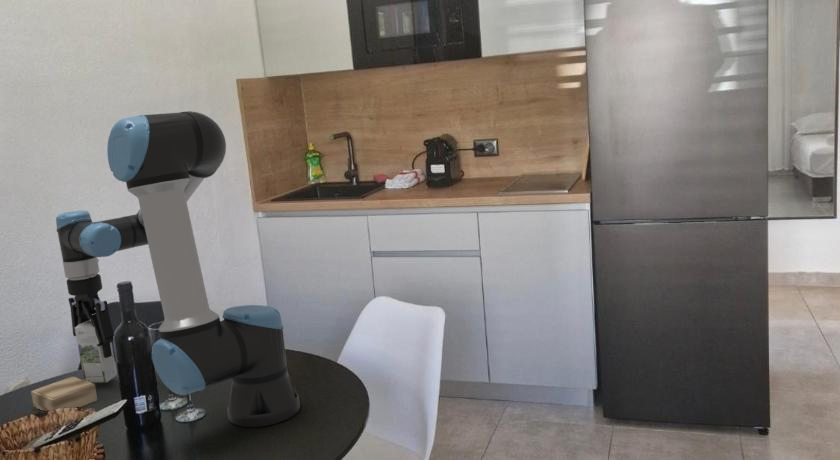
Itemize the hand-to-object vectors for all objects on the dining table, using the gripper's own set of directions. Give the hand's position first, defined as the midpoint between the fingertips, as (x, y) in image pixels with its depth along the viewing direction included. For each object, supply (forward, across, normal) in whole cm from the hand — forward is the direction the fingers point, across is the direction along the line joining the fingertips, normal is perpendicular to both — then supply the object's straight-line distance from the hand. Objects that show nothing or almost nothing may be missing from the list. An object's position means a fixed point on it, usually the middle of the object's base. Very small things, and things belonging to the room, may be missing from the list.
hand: (98, 366), depth 187 cm
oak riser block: (+5, -4, +11) cm, 12 cm away
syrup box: (+3, 0, 0) cm, 3 cm away
